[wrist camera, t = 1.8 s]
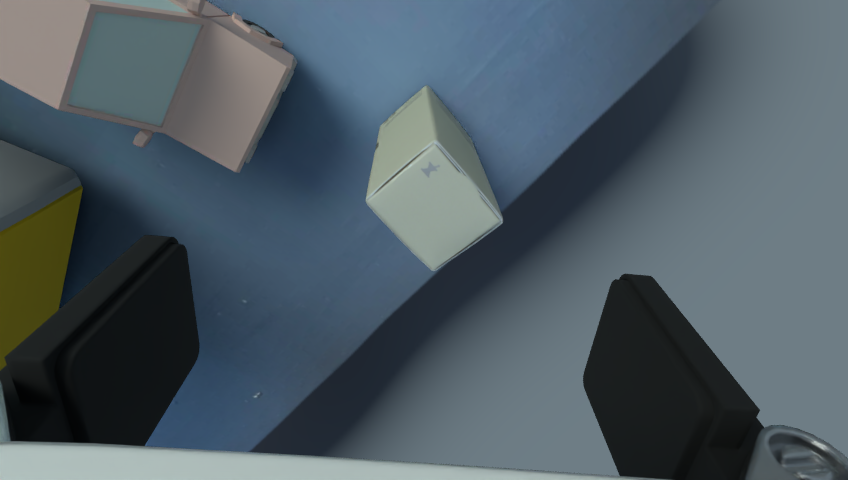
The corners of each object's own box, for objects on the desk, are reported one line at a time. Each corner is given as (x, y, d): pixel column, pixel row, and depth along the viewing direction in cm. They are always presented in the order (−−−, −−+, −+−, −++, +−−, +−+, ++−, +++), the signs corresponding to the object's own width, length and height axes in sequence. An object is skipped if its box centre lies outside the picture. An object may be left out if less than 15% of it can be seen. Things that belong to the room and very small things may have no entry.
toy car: (257, 165, 34) (200, 226, 25) (27, 36, 31) (-135, 56, 22) (320, 42, 31) (278, 63, 22) (69, -120, 27) (-105, -175, 18)
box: (377, 125, 33) (354, 197, 22) (428, 81, 32) (433, 132, 20) (428, 183, 35) (432, 277, 23) (478, 143, 34) (508, 222, 22)
